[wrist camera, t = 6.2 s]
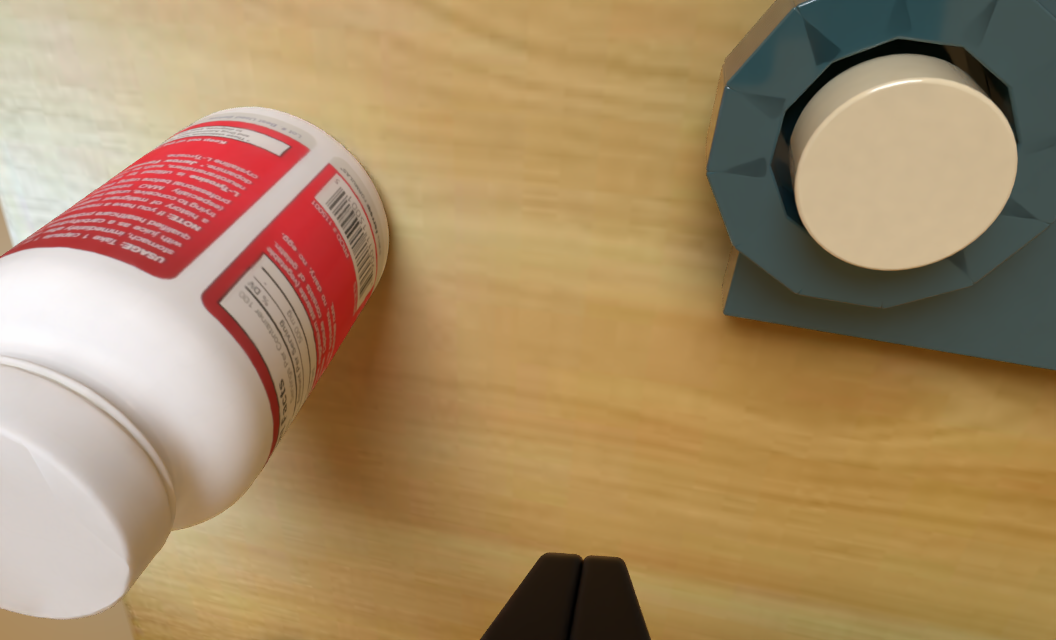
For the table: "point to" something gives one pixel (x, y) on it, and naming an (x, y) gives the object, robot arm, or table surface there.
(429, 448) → the table surface
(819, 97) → the beige round cap
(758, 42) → the teal rectangular base
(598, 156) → the table surface
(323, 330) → the pill bottle
